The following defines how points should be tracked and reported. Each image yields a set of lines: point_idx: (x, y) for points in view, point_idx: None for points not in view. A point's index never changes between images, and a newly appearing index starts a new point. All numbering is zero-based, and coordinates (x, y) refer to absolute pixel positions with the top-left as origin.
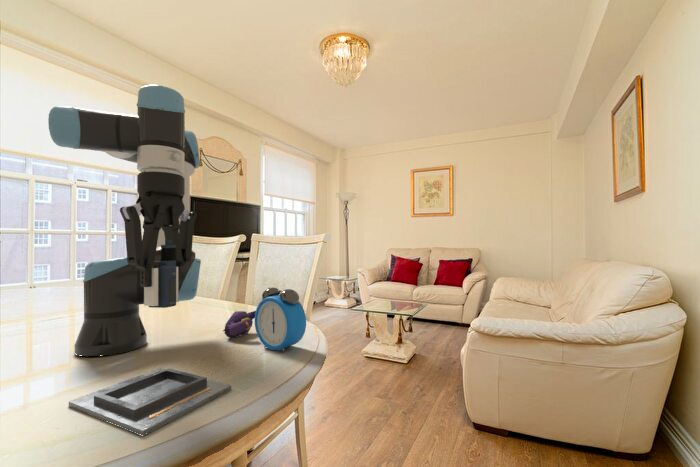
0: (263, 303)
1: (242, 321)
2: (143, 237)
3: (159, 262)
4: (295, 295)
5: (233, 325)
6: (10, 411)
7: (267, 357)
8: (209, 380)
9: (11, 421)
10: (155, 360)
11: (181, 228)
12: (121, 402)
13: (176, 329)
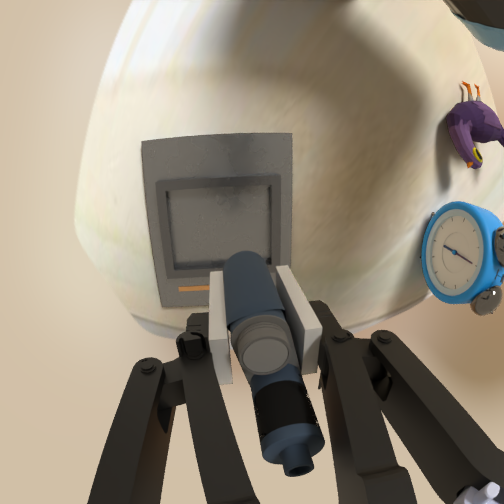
0: (483, 243)
1: (471, 154)
2: (199, 464)
3: (264, 370)
4: (483, 315)
5: (462, 135)
6: (101, 90)
7: (399, 250)
8: (289, 260)
9: (92, 128)
10: (321, 71)
11: (449, 458)
12: (166, 243)
13: None
